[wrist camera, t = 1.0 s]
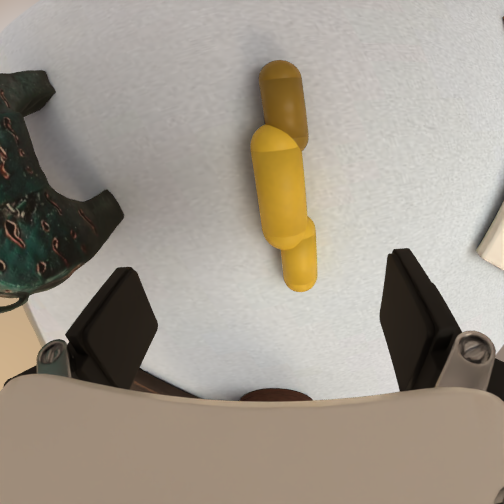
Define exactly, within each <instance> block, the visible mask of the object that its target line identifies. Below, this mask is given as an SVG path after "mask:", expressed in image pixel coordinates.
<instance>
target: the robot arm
mask: <svg viewBox="0 0 504 504" xmlns="http://www.w3.org/2000/svg"><path fill="white" fill-rule="evenodd" d="M380 323H381V326H382V329H383V332H384V335H385V339H386V342H387V345H388V349H389V352H390V356H391V359H392V363H393V366H394V370H395V374H396V378H397V382H398V385H399V389H400V392H395V393H388V394H380V395H372V396H363V397H353V398H342V399H330V400H314V401H288V402H251V401H224V400H208V399H196V398H185V397H176V396H167V395H160V394H152V393H145V392H139V391H133V390H129V389H130V387H131V385H132V383H133V381H134V378H135V376H136V374H137V372H138V370H139V367H140V365H141V363H142V361H143V359H144V357H145V355H146V352H147V350H148V348H149V346H150V344H151V342H152V340H153V338H154V336H155V334H156V332H157V329H158V323H157V320H156V318H155V315H154V313H153V311H152V308H151V306H150V303H149V301H148V299H147V296H146V294H145V291H144V289H143V286H142V284H141V281H140V278H139V276H138V273H137V272H136V271H135V270H133V268H132V267H119V268H117V269H116V270H115V271H114V272H113V273H112V275H111V276H110V277H109V278H108V280H107V281H106V282H105V283H104V284H103V286H102V287H101V288H100V289H99V291H98V292H97V293H96V294H95V296H94V297H93V298H92V300H91V301H90V302H89V303H88V305H87V306H86V307H85V309H84V310H83V311H82V313H81V314H80V315H79V316H78V318H77V319H76V321H75V322H74V323H73V325H72V326H71V327H70V329H69V330H68V331H67V333H66V334H65V335H66V337H67V338H68V340H69V343H68V345H67V344H66V342H65V341H64V340H60V339H58V340H53V341H50V342H49V343H47V344H46V345H45V346H43V347H42V349H41V350H40V351H39V353H38V355H37V365H36V366H34V367H32V368H30V369H28V370H26V371H24V372H22V373H21V374H18V375H17V376H15V377H13V378H10V379H8V380H7V381H6V382H5V384H4V387H3V389H2V390H1V391H0V504H504V362H502V361H500V360H498V359H496V358H495V353H496V350H495V347H494V344H493V343H492V341H491V340H490V339H489V338H488V337H487V336H486V335H484V334H482V333H480V332H477V331H465V332H462V331H461V329H460V327H459V326H458V324H457V322H456V320H455V318H454V317H453V315H452V313H451V311H450V309H449V308H448V306H447V304H446V303H445V301H444V299H443V297H442V296H441V294H440V292H439V291H438V289H437V288H436V286H435V285H434V284H433V283H431V281H430V279H429V278H428V276H427V275H426V273H425V271H424V270H423V268H422V267H421V265H420V264H419V262H418V261H417V259H416V258H415V256H414V255H413V253H412V252H411V250H410V249H409V248H404V249H394V250H393V252H392V254H388V257H387V265H386V274H385V281H384V289H383V296H382V302H381V308H380Z"/></svg>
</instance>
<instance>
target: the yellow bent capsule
mask: <svg viewBox="0 0 504 504" xmlns="http://www.w3.org/2000/svg"><path fill="white" fill-rule="evenodd" d="M259 86H260V93H261V99H262V106H263V113H264V120H265V125H263V126H261V127H260V128H259V129H258V130H257V131H256V132H255V133H254V135H253V137H252V139H251V144H250V147H251V156H252V162H253V169H254V176H255V183H256V190H257V197H258V203H259V210H260V217H261V225H262V231H263V235H264V237H265V239H266V240H267V241H268V243H269V244H271V245H272V246H273V247H275V248H278V249H281V257H282V267H283V277H284V281H285V283H286V285H287V286H288V287H289V288H290V289H291V290H293V291H296V292H304V291H307V290H309V289H311V288H312V287H313V286H314V284H315V282H316V280H317V251H316V230H315V225H314V223H313V221H312V220H311V219H310V218H309V217H308V216H307V205H306V192H305V180H304V169H303V159H302V151H303V150H304V148H305V147H306V145H307V143H308V126H307V118H306V109H305V101H304V93H303V86H302V78H301V74H300V72H299V70H298V69H297V68H296V67H295V66H294V65H293V64H291V63H290V62H287V61H283V60H276V61H272V62H269V63H268V64H266V65H265V66H264V67H263V68H262V70H261V72H260V74H259Z"/></svg>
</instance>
